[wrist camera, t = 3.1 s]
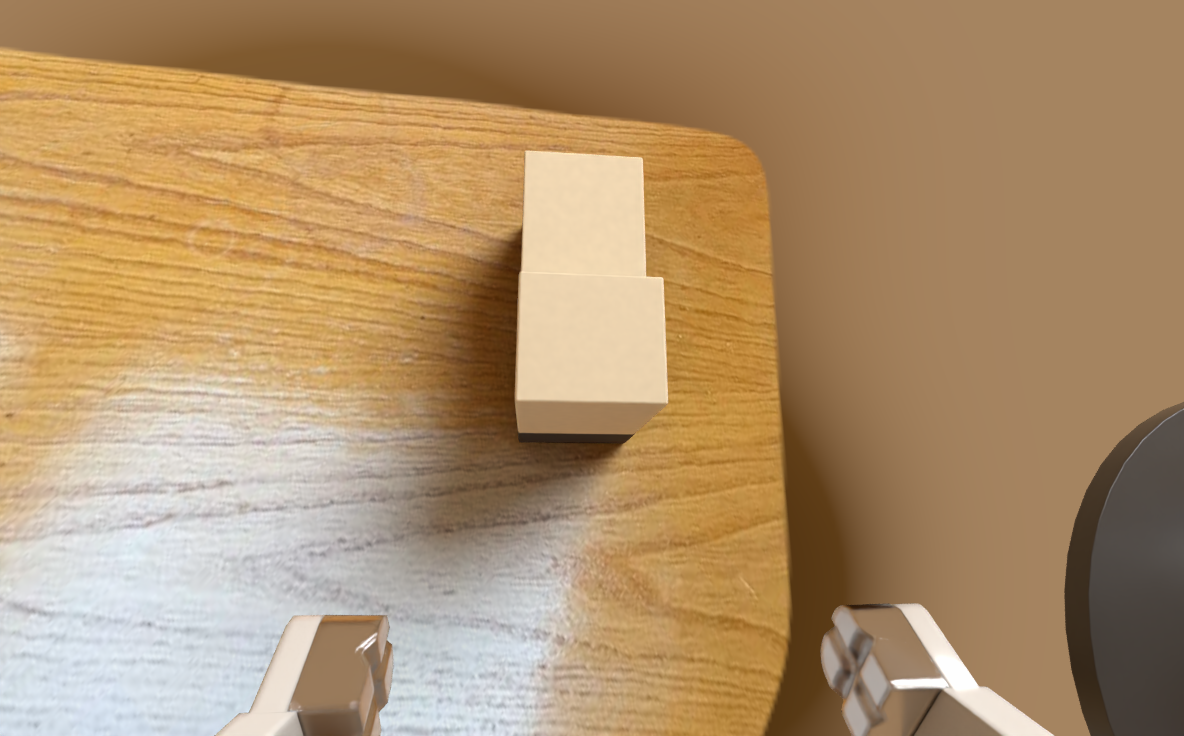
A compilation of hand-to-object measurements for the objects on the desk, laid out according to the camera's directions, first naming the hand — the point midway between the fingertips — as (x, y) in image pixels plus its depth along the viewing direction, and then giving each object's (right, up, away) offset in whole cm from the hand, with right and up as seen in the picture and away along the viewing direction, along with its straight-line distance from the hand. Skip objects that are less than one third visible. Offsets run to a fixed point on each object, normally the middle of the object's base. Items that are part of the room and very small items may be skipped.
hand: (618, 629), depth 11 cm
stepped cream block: (-1, +6, +15) cm, 16 cm away
